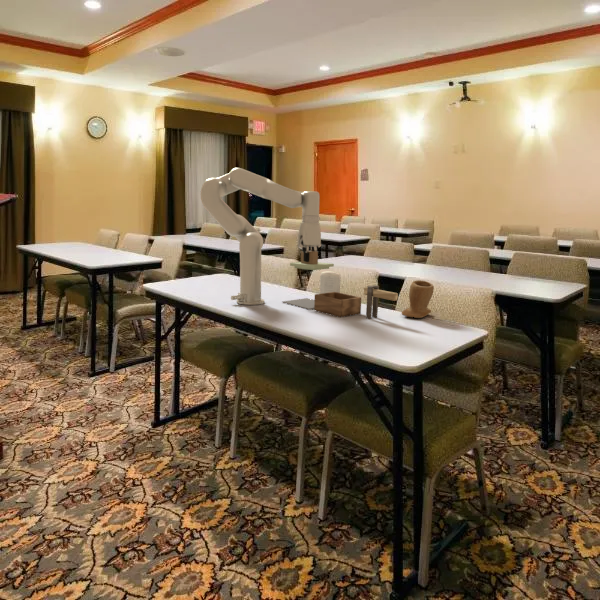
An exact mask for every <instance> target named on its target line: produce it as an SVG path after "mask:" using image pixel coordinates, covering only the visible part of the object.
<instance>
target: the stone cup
mask: <svg viewBox="0 0 600 600" xmlns="http://www.w3.org/2000/svg"><path fill="white" fill-rule="evenodd" d="M434 290H435V286H434V285H433V283H431V282H429V281H426V280H420V279H419V280H413V282H411V283H410V286H409V290H408V291H409V292H408V299H409V307H408V308H406V309H404V310H402V311H401V315H402V316H405V317H408V318H413V317H414V318H415V319H421V318H424V317H426V316H427V315H430V313H432V310H431V309H430V308H428V306H429V303H430V302H431V299H432V297H433V295H434Z"/></svg>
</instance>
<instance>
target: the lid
mask: <svg viewBox="0 0 600 600" xmlns="http://www.w3.org/2000/svg"><path fill="white" fill-rule="evenodd" d="M308 253H309V262H305V261H303V260H304V253H303V252H302V250H300V261H299V262H290V263H289V266H292V267H294V269H302V270H309V271H310V270H311V271H318V270H319V271H320V270H329V269H330V268H332V267H335V265H334V263H330V262H329V263H328V262H327V263H326V262H320V261H319V256H318V255H319V252H318V251H317V252H316V251H311V250H309V251H308Z"/></svg>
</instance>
